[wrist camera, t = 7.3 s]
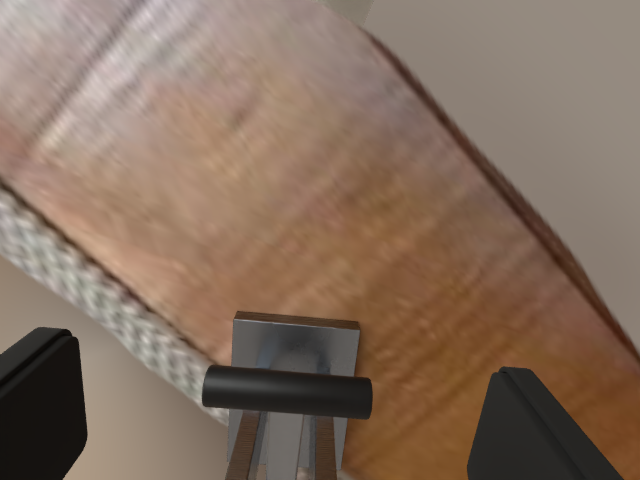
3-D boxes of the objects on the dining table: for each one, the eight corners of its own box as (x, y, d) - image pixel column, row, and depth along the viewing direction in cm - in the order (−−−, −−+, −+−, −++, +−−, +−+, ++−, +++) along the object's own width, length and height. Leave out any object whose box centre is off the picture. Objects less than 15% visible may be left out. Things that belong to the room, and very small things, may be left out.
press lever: (215, 341, 13) (193, 409, 11) (369, 354, 13) (376, 424, 11) (228, 508, 19) (215, 570, 17) (329, 516, 19) (329, 577, 17)
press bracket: (237, 310, 26) (172, 453, 14) (358, 321, 26) (390, 470, 14) (230, 448, 28) (172, 658, 17) (339, 456, 29) (354, 669, 17)
